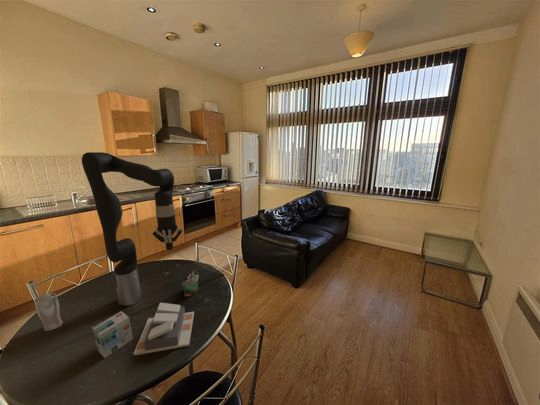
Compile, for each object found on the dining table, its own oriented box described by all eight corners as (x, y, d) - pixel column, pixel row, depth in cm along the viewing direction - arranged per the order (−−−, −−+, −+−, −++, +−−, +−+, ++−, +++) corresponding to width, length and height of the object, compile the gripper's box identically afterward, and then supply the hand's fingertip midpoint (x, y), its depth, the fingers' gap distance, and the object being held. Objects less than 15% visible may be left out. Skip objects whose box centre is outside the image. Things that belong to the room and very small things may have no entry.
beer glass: (68, 322, 99) (60, 294, 95) (48, 334, 93) (39, 304, 89) (58, 318, 101) (50, 290, 97) (38, 330, 95) (29, 300, 91)
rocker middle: (152, 323, 89) (152, 320, 89) (155, 315, 93) (155, 312, 93) (175, 323, 92) (176, 321, 91) (177, 316, 96) (178, 313, 95)
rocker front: (149, 340, 84) (147, 338, 84) (152, 331, 88) (151, 329, 88) (171, 330, 85) (170, 327, 85) (174, 321, 89) (172, 319, 89)
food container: (195, 299, 114) (193, 282, 112) (183, 299, 114) (181, 282, 112) (202, 285, 126) (201, 269, 124) (192, 284, 126) (190, 269, 124)
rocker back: (156, 311, 95) (157, 309, 95) (159, 304, 99) (160, 302, 99) (178, 314, 97) (179, 311, 97) (180, 307, 101) (180, 305, 101)
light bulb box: (104, 359, 82) (98, 335, 79) (96, 350, 86) (91, 327, 83) (134, 338, 91) (129, 316, 88) (125, 331, 94) (121, 310, 92)
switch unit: (133, 355, 83) (131, 343, 82) (148, 320, 100) (146, 309, 99) (189, 345, 88) (187, 333, 86) (194, 313, 105) (193, 303, 103)
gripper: (146, 217, 93) (152, 254, 97) (179, 215, 95) (183, 251, 100) (152, 212, 100) (156, 247, 104) (182, 210, 102) (186, 244, 107)
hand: (170, 249), depth 102 cm, fingers closed
